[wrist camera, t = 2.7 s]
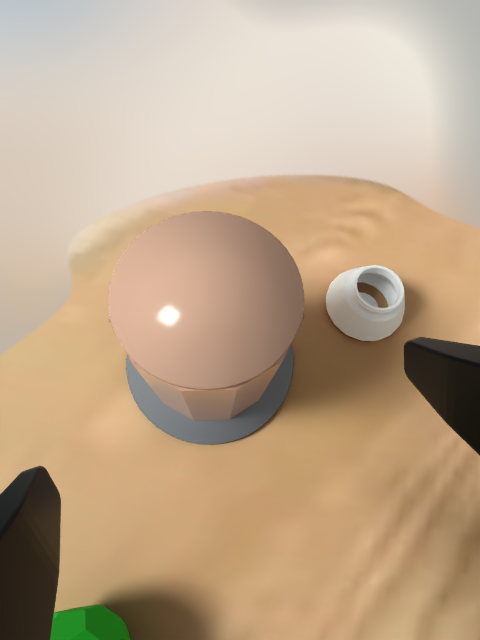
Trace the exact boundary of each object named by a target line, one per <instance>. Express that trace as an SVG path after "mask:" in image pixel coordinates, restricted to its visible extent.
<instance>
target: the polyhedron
mask: <svg viewBox="0 0 480 640" xmlns="http://www.w3.org/2000/svg"><path fill="white" fill-rule="evenodd" d="M50 640H131V638H130V635H129V632H128V628H127V626H126V624H125V622H124V621H123V619H122V618H120V617H119V616H117V615H116V614H115V613H113V612H112V611H110V610H109V609H107V608H106V607H105V606H103V605H92V606H86V607H79V608H73V609H68V610H64V611H59V612H55V613H54V616H53V623H52V630H51V638H50Z"/></svg>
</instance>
